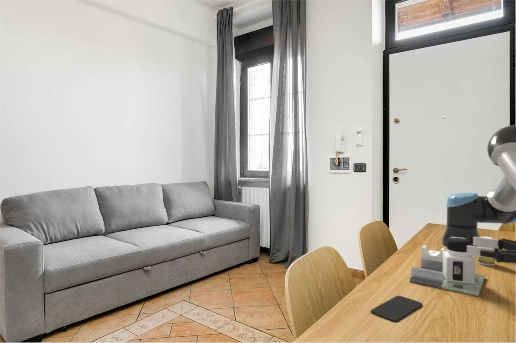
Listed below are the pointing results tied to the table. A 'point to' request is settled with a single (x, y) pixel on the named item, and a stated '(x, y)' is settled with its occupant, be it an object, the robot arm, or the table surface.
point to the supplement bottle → (486, 260)
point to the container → (458, 261)
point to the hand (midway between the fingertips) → (470, 245)
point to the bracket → (432, 254)
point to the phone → (396, 308)
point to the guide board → (442, 278)
